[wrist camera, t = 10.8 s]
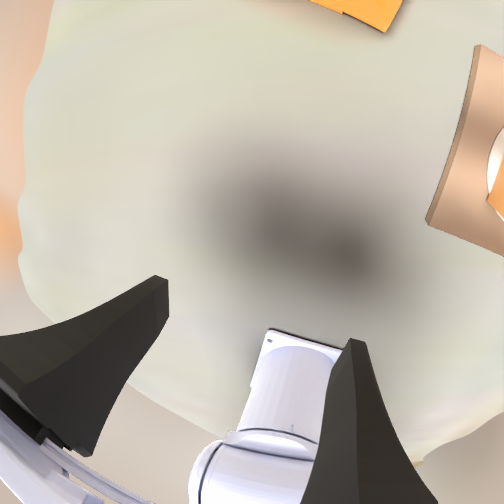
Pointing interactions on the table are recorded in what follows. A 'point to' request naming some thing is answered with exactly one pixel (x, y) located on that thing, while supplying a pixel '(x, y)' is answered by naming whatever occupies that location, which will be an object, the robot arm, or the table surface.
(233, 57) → the table surface
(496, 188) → the collar
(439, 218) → the post base
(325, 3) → the bracket
